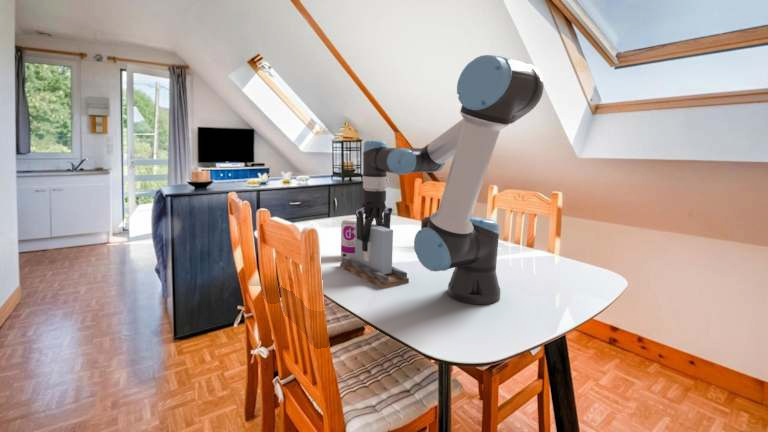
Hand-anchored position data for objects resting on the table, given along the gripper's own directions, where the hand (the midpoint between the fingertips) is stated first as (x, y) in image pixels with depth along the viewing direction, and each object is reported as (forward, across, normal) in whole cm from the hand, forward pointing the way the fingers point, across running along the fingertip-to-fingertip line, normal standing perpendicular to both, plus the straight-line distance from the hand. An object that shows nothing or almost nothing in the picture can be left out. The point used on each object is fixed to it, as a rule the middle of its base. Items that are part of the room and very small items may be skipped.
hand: (372, 259), depth 135 cm
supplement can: (+5, -4, -20) cm, 21 cm away
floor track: (+5, 0, 0) cm, 5 cm away
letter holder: (+6, -45, -11) cm, 47 cm away
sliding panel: (+3, 0, 0) cm, 3 cm away
